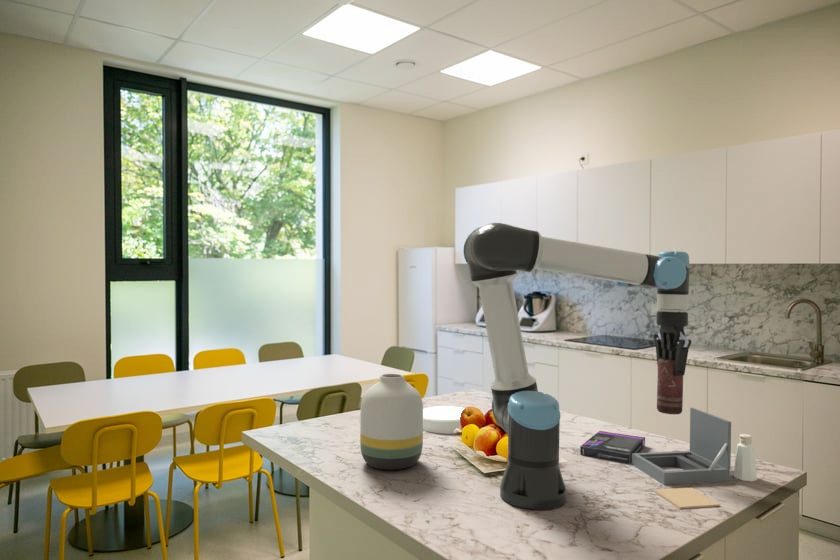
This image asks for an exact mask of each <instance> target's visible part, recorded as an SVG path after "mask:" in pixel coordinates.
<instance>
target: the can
mask: <svg viewBox="0 0 840 560" xmlns="http://www.w3.org/2000/svg"><path fill="white" fill-rule="evenodd" d="M664 359H665V358H664ZM664 359H662V358H660V359H659V361H658V365H657V380H656V381H657V385H656V386H657V388H656V389H657V392H656V410H657V411H658V412H659V413H661V414H667V415H680V414H682V412H683V405H684V404H683V403H684V402H683V401H684V399H683V398H684V395H683V394H684V375H682V376H675V375H674V374H673V370H674V364H675V361H674V360H669V359H667V360H664Z"/></svg>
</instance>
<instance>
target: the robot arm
mask: <svg viewBox="0 0 840 560" xmlns="http://www.w3.org/2000/svg"><path fill="white" fill-rule="evenodd" d="M463 258H464V260H465V262H466V264H467V265H468V269H469V274H470V279H471V283H472V284H473V285H475V286H476V287H477V288H478V290H479V296H480V301H481V307H482V312H483V318H484V323H485V324H484V325H485V329H486V334H487V340H488V346H489V352H490V355H491V356H490V357H491V362H492V367H493V374H494V380H493V382H492V383H491V385H490V390H491V395H492V401H491V412H492V415H493V418H494V420H495V422H496V423H497V424H498V425H499V427H501V429H502V430H503V431H504V432H505V433H506V434H507V436H508V437H507V464H506V467H505V470H504V472H503V474H502V475H503V476H502V477H501V481H500V485H499V496H500V498H501V499H502V500H503V501H504V502H506V503H507V504H510V505H512V506H515V507H518V508H521V509H528V510H538V511H539V510H540V511H542V510H553V509H557V508H560V507H562V506H564V505H565V503H566V502H567V487H566V485H565V481H564V477H563V475H562V471H561V468H560V425H561V423H560V420H561V410H560V404H559V403H560V402H558V400H557V399H556V398H555V397H554V396H553V395H550V394H548V393H544V392H541V391H538V385H537V379H536V378H535V377H534V376H533V375H531V374H530V372H529V368H528V363H527V357H526V351H525V347H524V340H523V335H522V329H521V324H520V323H521V322H520V318H519V317H520V316H519V314H518V313H519V312H518V307H517V301H516V297H515V295H516V294H515V289H514V285H513V282H514V279H515V278H516V276H517V274H518V273H517V271H521V272H528V273H532V272H534V271H535V270H540V271H541V270H543V271H547V272H549V271H550V272H554V273H562V274H567V275H575V276H579V277H586V278H593V279H599V280H604V281H605V280H606V281H610V282H611V281H612V282H613V284H614V285H615V286H616V287H619V288H620V287H621V288H640V289H642V288H643V289H645V288H646V289H656V309H658V311H656V325H657V326H660V328H659V331H658V333H657V334H653V336H652V337H653V340H654V344H655V354H656V364H657V366H658V361H659V359H660V358H662V359H664V358H665V359H664V360H667V359H669V360H674V361H675V364H674V370H673V374H674V375H675V376H682V375H683V376H685V373H686V367H687V362H688V355H689V349H690V347H691V345H692V340H691V339H690V338H689V339H687V337H685V335H686V333H685V329H684V328H685V327H688V325H689V313H688V312H687V311H688V309H689V292H690V291H689V288H690V287H689V286H690V270H691V267H690V256H689V254H688V252H685V251H679V250H678V251H673V250H672V251H671V250H670V251H659V252H658V254H657V255H653V254H645V253H641V252H635V251H629V250H623V249H618V248H612V247H605V246H600V245H593V244H588V243H581V242H575V241H570V240H564V239H557V238H552V237H545V236H542V234H541V233H540V232H539V231H537V230H531V229H526V228H522V227H518V226H515V225H510V224H507V223H502V222H492V223H488V224H485V225H483V226H480V227H477V228H475V229H474V230H473V231H471V232H470V233H469V234H468V236H467V237H466V239H465V241H464V245H463Z"/></svg>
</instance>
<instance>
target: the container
mask: <svg viewBox="0 0 840 560" xmlns="http://www.w3.org/2000/svg"><path fill="white" fill-rule="evenodd" d="M464 409H465V407H460V406H450V405H447V406H446V405H440V406H439V405H438V406H430V407H429V406H428V407H425V408H423V431H426V432H429V433H437V434H449V435H450V434H455V433H454V430H455V429H456V428H458V427H459V425H460V417H461V413H462V411H463V410H464Z"/></svg>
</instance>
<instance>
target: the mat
mask: <svg viewBox="0 0 840 560" xmlns="http://www.w3.org/2000/svg"><path fill="white" fill-rule="evenodd" d="M653 492H654V493H655V494H657V495H659V497H661V498H663V499H664V500H665V501H667V502H669V503H670V504H672V505H673V506H675V507H677V508H678V509H679V510H680V509H682V510H684V509H697V508H698V509H700V508H709V507H712V508H715V507H721V504H720V503H718V502H717V501H715V500H714V499H712V498H710V497H709V496H707V495H705V494H704V493H702V492H700V491H698V490H697V489H695V488H693V487H679V488H677V487H675V488H662V489H660V488H659V489H653Z"/></svg>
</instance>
